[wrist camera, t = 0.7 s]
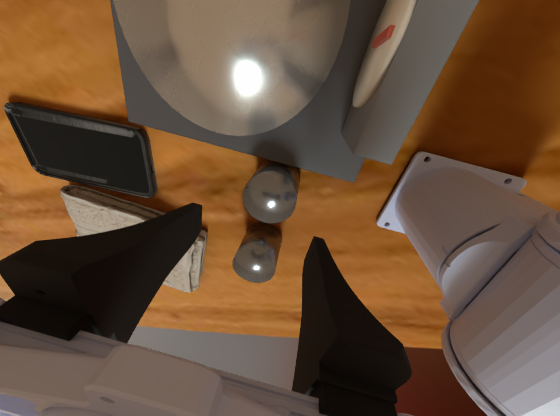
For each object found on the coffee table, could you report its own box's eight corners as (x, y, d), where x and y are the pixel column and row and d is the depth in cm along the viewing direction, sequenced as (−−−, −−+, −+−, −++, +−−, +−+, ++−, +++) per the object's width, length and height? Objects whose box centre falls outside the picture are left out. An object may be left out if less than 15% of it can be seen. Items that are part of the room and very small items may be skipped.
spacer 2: (285, 228, 24) (279, 258, 20) (277, 254, 26) (270, 287, 22) (249, 217, 24) (235, 245, 20) (244, 245, 26) (230, 275, 22)
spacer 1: (305, 163, 20) (302, 183, 16) (293, 201, 22) (288, 229, 18) (261, 151, 20) (246, 168, 16) (254, 191, 22) (239, 215, 18)
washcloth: (205, 283, 32) (195, 300, 29) (93, 248, 32) (73, 262, 29) (212, 223, 26) (200, 239, 23) (74, 179, 26) (47, 190, 23)
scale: (477, -124, 11) (812, -562, 4) (349, 172, 20) (370, 221, 12) (115, -215, 11) (-270, -799, 4) (148, 117, 20) (52, 134, 13)
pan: (402, -160, 9) (409, -181, 8) (307, 154, 16) (307, 157, 15) (91, -237, 9) (73, -264, 8) (136, 107, 16) (128, 108, 16)
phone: (-1, 100, 20) (142, 130, 20) (13, 100, 21) (149, 128, 21) (35, 174, 25) (154, 200, 24) (46, 170, 25) (160, 196, 25)
